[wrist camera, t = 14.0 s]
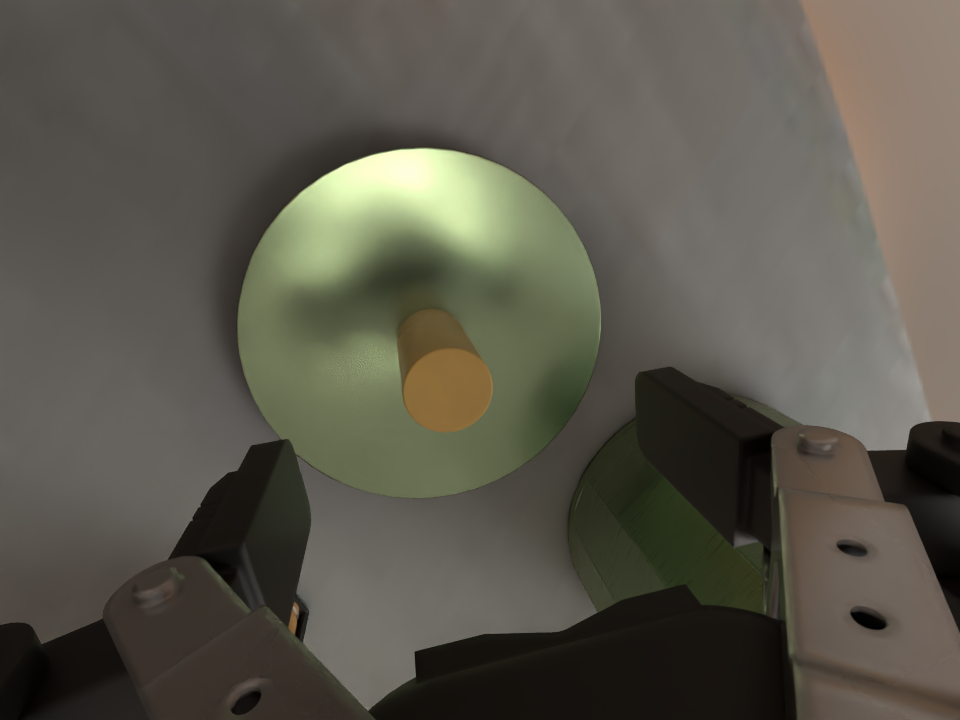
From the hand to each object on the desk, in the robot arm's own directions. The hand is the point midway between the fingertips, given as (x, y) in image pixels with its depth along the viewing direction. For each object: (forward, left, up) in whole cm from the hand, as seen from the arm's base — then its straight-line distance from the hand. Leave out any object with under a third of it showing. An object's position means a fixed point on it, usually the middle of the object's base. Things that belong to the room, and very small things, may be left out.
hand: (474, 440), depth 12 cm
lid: (0, 0, -8) cm, 8 cm away
